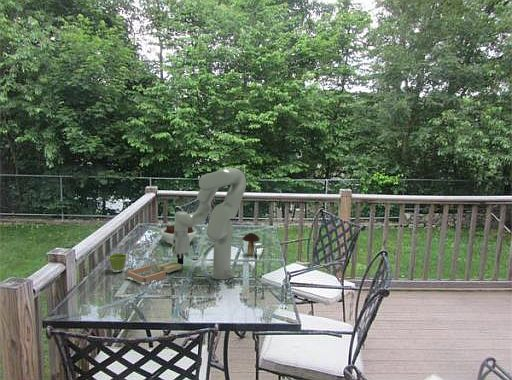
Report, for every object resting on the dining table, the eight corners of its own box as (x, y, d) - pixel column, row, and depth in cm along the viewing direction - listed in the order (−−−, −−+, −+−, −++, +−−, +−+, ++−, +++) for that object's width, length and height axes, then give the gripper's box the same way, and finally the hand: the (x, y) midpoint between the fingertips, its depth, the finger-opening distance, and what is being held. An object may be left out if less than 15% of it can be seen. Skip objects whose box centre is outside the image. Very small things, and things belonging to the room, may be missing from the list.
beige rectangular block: (182, 270, 232) (183, 264, 232) (168, 275, 223) (168, 268, 223) (173, 267, 237) (173, 261, 236) (158, 271, 228) (158, 265, 228)
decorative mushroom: (258, 258, 261) (259, 235, 259) (241, 257, 261) (242, 234, 259) (258, 253, 272) (259, 231, 270) (242, 252, 272) (243, 230, 270)
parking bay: (165, 278, 218) (165, 271, 217) (144, 285, 207) (144, 278, 206) (148, 272, 226) (148, 265, 226) (126, 278, 215) (126, 271, 214)
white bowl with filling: (158, 239, 296) (159, 218, 294) (193, 238, 304) (193, 218, 302) (161, 248, 272) (162, 226, 270) (199, 247, 280) (199, 225, 278)
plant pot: (121, 275, 220) (121, 259, 219) (105, 273, 222) (105, 257, 221) (129, 269, 229) (129, 254, 228) (114, 268, 231) (114, 253, 230)
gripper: (175, 236, 225) (174, 268, 227) (195, 232, 237) (194, 262, 239) (166, 234, 230) (165, 265, 232) (186, 230, 241) (185, 260, 244)
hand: (180, 264), depth 236 cm, fingers closed
